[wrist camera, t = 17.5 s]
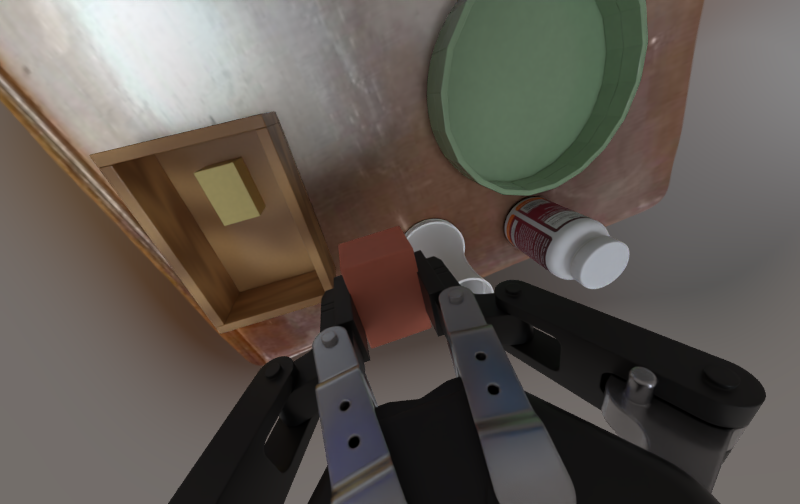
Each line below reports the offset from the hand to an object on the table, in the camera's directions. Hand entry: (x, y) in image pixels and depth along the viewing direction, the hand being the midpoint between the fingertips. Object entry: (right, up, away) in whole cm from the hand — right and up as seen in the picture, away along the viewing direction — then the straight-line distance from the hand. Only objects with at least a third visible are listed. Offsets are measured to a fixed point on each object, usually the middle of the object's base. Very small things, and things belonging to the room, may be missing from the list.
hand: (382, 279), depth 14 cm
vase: (+4, +2, +19) cm, 19 cm away
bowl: (+12, +17, +12) cm, 24 cm away
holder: (-13, +5, +13) cm, 19 cm away
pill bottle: (+16, +5, +20) cm, 26 cm away
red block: (0, 0, 0) cm, 1 cm away
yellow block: (-13, +7, +11) cm, 18 cm away
